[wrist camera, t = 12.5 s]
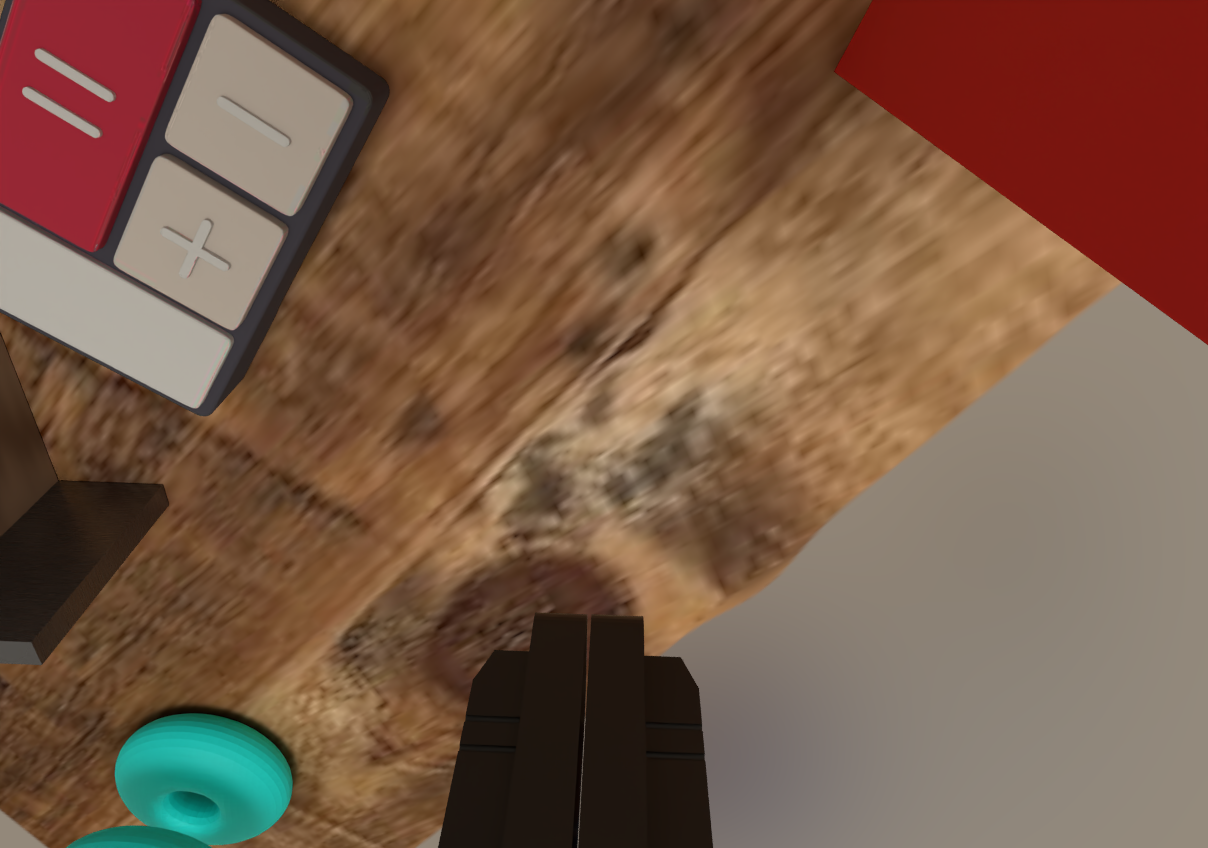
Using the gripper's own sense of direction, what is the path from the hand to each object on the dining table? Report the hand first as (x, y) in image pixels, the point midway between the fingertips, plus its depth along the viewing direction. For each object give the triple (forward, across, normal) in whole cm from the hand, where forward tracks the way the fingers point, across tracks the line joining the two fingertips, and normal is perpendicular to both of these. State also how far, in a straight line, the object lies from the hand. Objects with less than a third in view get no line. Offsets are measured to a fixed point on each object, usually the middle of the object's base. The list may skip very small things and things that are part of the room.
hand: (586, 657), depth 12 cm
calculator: (+24, +17, 0) cm, 29 cm away
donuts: (+23, +23, +35) cm, 48 cm away
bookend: (+23, +24, +15) cm, 37 cm away
